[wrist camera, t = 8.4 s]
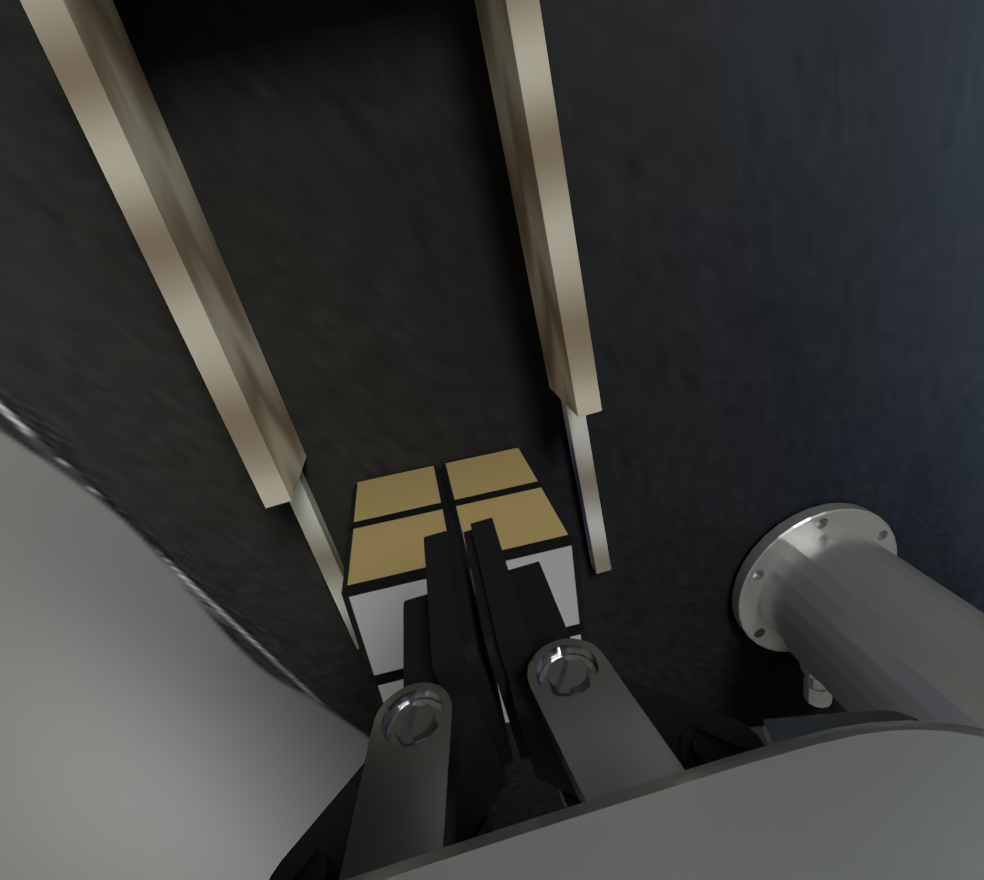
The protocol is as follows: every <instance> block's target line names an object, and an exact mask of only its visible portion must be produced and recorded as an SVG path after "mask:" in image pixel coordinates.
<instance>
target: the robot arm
mask: <svg viewBox="0 0 984 880" xmlns="http://www.w3.org/2000/svg"><path fill="white" fill-rule="evenodd" d="M470 525H471V529H472V530H469V531H465V532H463V534H464V539H465V544H466V549H467V554H468V559H469V564H470V569H471V574H472V579H473V584H474V588H473V585H472V582H471V579H470V576H469V572H468V569H467V566H466V563H465V559H464V556H463V553H462V550H461V546H460V543H459V540H458V537H457V535H456V534H455V535H451V536H448V534H447V531H443V532H440V533H436V534H433V535H429V536H426V537H424V551H425V566H426V581H427V594H426V595H423V596H419V597H416V598H412V599H409V600H406V601H404V606H403V688H402V689H400V690H399V691H397V692H395V693H394V694H393V695H392V696H391V697H389V698H388V699H387V700H386V701H385V702H384V704H383V705H382V706H381V708H380V709H379V711H378V712H377V715H376V717H375V720H374V723H373V727H372V731H371V736H370V740H369V745H368V750H367V754H366V759H365V763H364V764H363V765H362V766H361V767H360V769H359V770H358V771H357V772H356V773H355V775H354V776H353V777H352V778H351V779H350V781H349V782H348V783H347V784H346V785H345V787H344V788H343V789H342V790H341V791H340V792H339V793H338V795H337V796H336V797H335V798H334V799H333V801H332V802H331V803H330V804H329V805H328V806H327V808H326V809H325V810H324V811H323V812H322V814H321V815H320V816H319V817H318V818H317V819H316V821H315V822H314V823H313V824H312V826H311V827H310V828H309V829H308V830H307V831H306V832H305V834H304V835H303V836H302V837H301V838H300V840H299V841H298V842H297V843H296V844H295V846H294V847H293V848H292V849H291V850H290V851H289V852H288V854H287V855H286V856H285V857H284V858H283V860H282V861H281V862H280V864H279V865H278V867H277V868H276V870H275V871H274V872H273V874H272V875H271V877H270V879H269V880H984V613H982V612H981V611H979V610H978V609H976V608H975V607H973V606H972V605H970V604H969V603H967V602H966V601H964V600H963V599H961V598H960V597H958V596H957V595H955V594H954V593H952V592H951V591H949V590H947V589H946V588H944V587H943V586H941V585H940V584H938V583H937V582H935V581H934V580H932V579H931V578H929V577H928V576H926V575H925V574H923V573H922V572H920V571H919V570H917V569H916V568H914V567H913V566H911V565H910V564H908V563H907V562H905V561H904V560H902V559H901V558H899V557H898V556H897V545H896V541H895V537H894V534H893V532H892V531H891V529H890V527H889V525H888V524H887V523H886V522H885V521H884V520H882V519H881V518H880V517H879V516H877V515H876V514H874V513H872V512H871V511H869V510H867V509H866V508H863V507H860V506H857V505H855V504H848V503H831V504H823V505H819V506H816V507H812V508H809V509H806V510H804V511H802V512H800V513H797V514H795V515H793V516H791V517H789V518H788V519H786V520H785V521H783V522H781V523H780V524H778V525H777V526H776V527H774V528H773V529H772V530H771V531H770V532H768V533H767V534H766V535H765V536H764V537H763V538H762V539H761V540H760V541H759V542H758V543H757V544H756V546H755V547H754V548H753V549H752V550H751V552H750V553H749V555H748V556H747V558H746V559H745V561H744V562H743V564H742V566H741V568H740V570H739V572H738V575H737V577H736V580H735V584H734V588H733V595H732V606H733V612H734V616H735V618H736V620H737V622H738V625H739V626H740V627H741V628H742V630H743V631H744V632H745V633H746V634H747V636H748V637H749V638H750V639H752V640H753V641H754V642H755V643H756V644H758V645H760V646H762V647H764V648H766V649H770V650H774V651H779V652H791V653H792V654H793V656H794V657H795V658H796V659H797V660H798V661H799V662H800V668H801V670H802V671H803V673H804V674H805V675H804V677H803V695H804V699H805V700H806V701H807V702H808V703H809V704H811V705H813V706H815V707H819V708H825V707H828V706H829V705H830V704H831V703H832V696H833V697H834V698H835V699H836V700H837V701H838V702H839V703H840V704H841V706H842V707H843V708H844V709H845V710H846V711H847V712H848V713H836V714H824V715H811V716H799V717H786V718H774V719H763V726H760V727H748V726H746V725H745V724H743V723H741V722H739V721H737V720H735V719H733V718H732V717H729V716H726V715H724V714H721V713H718V712H715V711H713V710H710V709H707V708H704V707H702V706H699V705H696V704H693V703H691V702H688V701H685V700H682V699H680V698H677V697H674V696H671V695H669V694H666V693H663V692H660V691H658V690H655V689H652V688H649V687H647V686H644V685H641V684H638V683H636V682H633V681H630V680H628V679H625V678H622V677H619V676H618V674H617V673H616V672H615V670H614V669H613V667H612V666H611V664H610V663H609V662H608V660H607V659H606V657H605V656H604V655H603V653H602V652H601V651H600V650H599V649H598V648H597V647H596V646H595V645H593V644H591V643H589V642H587V641H585V640H580V639H575V638H570V636H569V633H568V631H567V628H566V626H565V623H564V621H563V618H562V616H561V614H560V611H559V609H558V606H557V604H556V601H555V599H554V596H553V594H552V592H551V589H550V587H549V584H548V582H547V579H546V577H545V574H544V572H543V570H542V567H541V565H540V563H539V561H538V562H534V563H531V564H528V565H524V566H521V567H517V568H514V569H511V570H508V567H507V564H506V561H505V558H504V554H503V551H502V548H501V545H500V541H499V538H498V535H497V532H496V529H495V525H494V522H493V519H492V518H488V519H485V520H481V521H478V522H474V523H471V524H470ZM474 589H475V592H474ZM475 594H476V595H475ZM497 684H498V685H497ZM498 687H499V689H498ZM499 690H500V694H501V697H502V700H503V703H504V706H505V709H506V713H507V716H508V719H509V722H510V725H511V728H512V732H513V735H514V738H515V741H516V744H517V747H518V751H519V754H520V757H521V760H522V761H525V760H528V759H531V762H532V765H533V768H534V772H535V775H536V777H537V778H539V779H541V780H543V781H545V782H547V783H548V784H550V785H552V786H554V787H556V788H558V789H559V791H560V795H561V798H562V801H563V804H564V806H565V809H562V810H558V811H555V812H552V813H549V814H546V815H543V816H540V817H537V818H533V819H530V820H527V821H524V822H521V823H518V824H515V825H512V826H509V827H505V828H502V829H499V830H496V831H494V818H493V812H492V809H491V806H492V805H493V803H494V801H495V800H496V798H497V796H498V795H499V793H500V792H501V790H502V788H503V787H505V786H508V785H507V780H506V774H505V769H504V767H506V766H509V765H512V764H513V757H512V752H511V747H510V743H509V738H508V733H507V728H506V723H505V718H504V714H503V709H502V704H501V699H500V694H499Z"/></svg>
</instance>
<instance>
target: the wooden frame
mask: <svg viewBox="0 0 984 880" xmlns="http://www.w3.org/2000/svg"><path fill="white" fill-rule="evenodd" d="M20 1H21V3H22V5H23V7H24V9H25V12H26V14H27V16H28V18H29V20H30V22H31V24H32V26H33V28H34V30H35V32H36V34H37V36H38V38H39V40H40V43H41V45H42V47H43V49H44V51H45V53H46V55H47V57H48V59H49V61H50V63H51V65H52V67H53V69H54V72H55V74H56V76H57V78H58V80H59V82H60V84H61V86H62V88H63V90H64V92H65V94H66V96H67V98H68V100H69V103H70V105H71V107H72V109H73V111H74V113H75V115H76V117H77V119H78V121H79V123H80V125H81V127H82V129H83V131H84V134H85V136H86V138H87V140H88V142H89V144H90V146H91V148H92V150H93V152H94V154H95V156H96V158H97V160H98V162H99V165H100V167H101V169H102V171H103V173H104V175H105V177H106V179H107V181H108V183H109V185H110V187H111V189H112V191H113V194H114V196H115V198H116V200H117V202H118V204H119V206H120V208H121V210H122V212H123V214H124V216H125V218H126V220H127V222H128V225H129V227H130V229H131V231H132V233H133V235H134V237H135V239H136V241H137V243H138V245H139V247H140V249H141V251H142V253H143V256H144V258H145V260H146V262H147V264H148V266H149V268H150V270H151V272H152V274H153V276H154V278H155V280H156V282H157V284H158V287H159V289H160V291H161V293H162V295H163V297H164V299H165V301H166V303H167V305H168V307H169V309H170V311H171V313H172V316H173V318H174V320H175V322H176V324H177V326H178V328H179V330H180V332H181V334H182V336H183V338H184V340H185V342H186V344H187V347H188V349H189V351H190V353H191V355H192V357H193V359H194V361H195V363H196V365H197V367H198V369H199V371H200V373H201V375H202V378H203V380H204V382H205V384H206V386H207V388H208V390H209V392H210V394H211V396H212V398H213V400H214V402H215V404H216V406H217V409H218V411H219V413H220V415H221V417H222V419H223V421H224V423H225V425H226V427H227V429H228V431H229V433H230V435H231V438H232V440H233V442H234V444H235V446H236V448H237V450H238V452H239V454H240V456H241V458H242V460H243V462H244V464H245V466H246V469H247V471H248V473H249V475H250V477H251V479H252V481H253V483H254V485H255V487H256V489H257V491H258V493H259V495H260V497H261V500H262V502H263V504H264V506H265V508H268V507H272V506H275V505H279V504H282V503H286V502H290V504H291V506H292V509H293V511H294V513H295V515H296V517H297V519H298V522H299V524H300V526H301V528H302V530H303V533H304V535H305V537H306V539H307V541H308V543H309V546H310V548H311V550H312V552H313V554H314V557H315V559H316V561H317V563H318V565H319V567H320V570H321V572H322V574H323V576H324V578H325V581H326V583H327V585H328V587H329V589H330V591H331V594H332V596H333V598H334V600H335V602H336V605H337V607H338V609H339V611H340V613H341V615H342V618H343V620H344V622H345V624H346V626H347V629H348V631H349V633H350V635H351V637H352V639H353V642H354V644H355V646H356V648H357V649H359V646H358V643H357V640H356V637H355V634H354V631H353V628H352V625H351V622H350V619H349V616H348V613H347V610H346V607H345V604H344V600H343V597H342V594H341V592H342V584H343V576H344V565H343V563H342V561H341V559H340V556H339V554H338V552H337V549H336V547H335V545H334V542H333V540H332V538H331V535H330V533H329V531H328V529H327V526H326V524H325V522H324V519H323V517H322V515H321V512H320V510H319V508H318V505H317V503H316V501H315V499H314V496H313V494H312V492H311V489H310V487H309V485H308V482H307V480H306V478H305V475H304V473H303V471H302V468H303V465H304V462H305V459H306V454H305V452H304V450H303V447H302V445H301V443H300V440H299V438H298V436H297V433H296V431H295V429H294V426H293V424H292V421H291V419H290V417H289V414H288V412H287V410H286V407H285V405H284V403H283V400H282V398H281V396H280V393H279V391H278V388H277V386H276V384H275V381H274V379H273V377H272V374H271V372H270V370H269V367H268V365H267V363H266V360H265V358H264V356H263V353H262V351H261V348H260V346H259V344H258V341H257V339H256V337H255V334H254V332H253V330H252V327H251V325H250V323H249V320H248V318H247V315H246V313H245V311H244V308H243V306H242V304H241V301H240V299H239V297H238V294H237V292H236V290H235V287H234V285H233V283H232V280H231V278H230V275H229V273H228V271H227V268H226V266H225V264H224V261H223V259H222V257H221V254H220V252H219V250H218V247H217V245H216V242H215V240H214V238H213V235H212V233H211V231H210V228H209V226H208V224H207V221H206V219H205V217H204V214H203V212H202V210H201V207H200V205H199V202H198V200H197V198H196V195H195V193H194V191H193V188H192V186H191V184H190V181H189V179H188V177H187V174H186V172H185V169H184V167H183V165H182V162H181V160H180V158H179V155H178V153H177V151H176V148H175V146H174V144H173V141H172V139H171V136H170V134H169V132H168V129H167V127H166V125H165V122H164V120H163V118H162V115H161V113H160V111H159V108H158V106H157V104H156V101H155V99H154V96H153V94H152V92H151V89H150V87H149V85H148V82H147V80H146V78H145V75H144V73H143V71H142V68H141V66H140V63H139V61H138V59H137V56H136V54H135V52H134V49H133V47H132V45H131V42H130V40H129V38H128V35H127V33H126V31H125V28H124V26H123V23H122V21H121V19H120V16H119V14H118V12H117V9H116V7H115V5H114V2H113V0H20ZM474 2H475V7H476V12H477V17H478V22H479V27H480V32H481V38H482V43H483V48H484V53H485V58H486V63H487V68H488V74H489V79H490V84H491V89H492V94H493V99H494V105H495V110H496V115H497V120H498V125H499V130H500V135H501V141H502V146H503V151H504V156H505V161H506V166H507V171H508V177H509V182H510V187H511V192H512V197H513V202H514V207H515V213H516V218H517V223H518V228H519V233H520V238H521V244H522V249H523V254H524V259H525V264H526V269H527V274H528V280H529V285H530V290H531V295H532V300H533V305H534V310H535V316H536V321H537V326H538V331H539V336H540V341H541V347H542V352H543V357H544V362H545V367H546V372H547V377H548V383H549V387H550V388H551V390H552V391H553V392H554V393H555V394H556V395H557V396H558V397H559V398H560V399H561V405H562V410H563V415H564V421H565V426H566V432H567V437H568V442H569V448H570V453H571V458H572V464H573V469H574V474H575V480H576V485H577V490H578V496H579V501H580V507H581V512H582V517H583V523H584V528H585V533H586V539H587V544H588V549H589V555H590V560H591V565H592V567H593V568H594V570H595V572H596V573H597V574H598V573H601V572H605V571H608V570H611V565H610V559H609V553H608V547H607V541H606V535H605V529H604V523H603V518H602V512H601V506H600V500H599V494H598V488H597V482H596V476H595V470H594V464H593V458H592V452H591V446H590V440H589V434H588V428H587V422H586V416H585V415H589V414H592V413H595V412H599V411H602V408H601V402H600V395H599V388H598V382H597V375H596V369H595V362H594V356H593V349H592V343H591V336H590V330H589V323H588V317H587V310H586V303H585V297H584V290H583V284H582V277H581V271H580V264H579V258H578V251H577V245H576V238H575V231H574V225H573V218H572V212H571V205H570V199H569V192H568V186H567V179H566V173H565V166H564V160H563V153H562V146H561V140H560V133H559V127H558V120H557V114H556V107H555V101H554V94H553V88H552V81H551V74H550V68H549V61H548V55H547V48H546V42H545V35H544V29H543V22H542V16H541V9H540V2H539V0H474Z"/></svg>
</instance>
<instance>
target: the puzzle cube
mask: <svg viewBox="0 0 984 880" xmlns="http://www.w3.org/2000/svg"><path fill="white" fill-rule="evenodd" d="M441 473H442V475H441ZM442 478H443V480H442ZM443 483H444V484H443ZM444 487H445V489H444ZM445 492H446V493H445ZM446 497H447V498H446ZM488 518H492V519H493V522H494V525H495V529H496V532H497V535H498V538H499V541H500V545H501V548H502V551H503V554H504V558H505V561H506V564H507V567H508V570H511V569H514V568H517V567H521V566H524V565H528V564H531V563H534V562H538V561H539V563H540V565H541V567H542V570H543V572H544V574H545V577H546V579H547V582H548V584H549V587H550V589H551V592H552V594H553V596H554V599H555V601H556V604H557V606H558V609H559V611H560V614H561V616H562V618H563V621H564V623H565V626H566V628H567V631H568V633H569V636H570V638H575V639H580V640H585V641H586V633H585V627H584V625H583V623H582V620H583V618H584V613H583V602H582V592H581V581H580V571H579V561H578V550H577V540H576V538H575V536H574V534H573V533H572V531H571V529H570V527H569V526H568V524H567V522H566V521H565V519H564V517H563V516H562V514H561V512H560V511H559V509H558V507H557V505H556V504H555V502H554V500H553V499H552V497H551V495H550V494H549V492H548V491H547V490H545V485H544V483H543V481H542V480H541V478H540V476H539V475H538V473H537V472H536V470H535V468H534V467H533V465H532V463H531V462H530V460H529V458H528V457H527V455H526V453H525V452H524V451H523V450H521V449H520V448H514V449H509V450H505V451H500V452H495V453H491V454H486V455H482V456H477V457H472V458H468V459H463V460H459V461H454V462H449V463H445V464H444V466H443V467H442V468H441V471H440V469H439V468H437V467H435V466H430V467H425V468H421V469H416V470H412V471H407V472H402V473H398V474H393V475H388V476H384V477H379V478H375V479H370V480H365V481H361V482H358V483H357V484H356V485H355V487H354V489H353V498H352V507H351V516H350V525H349V531H350V535H349V536H348V544H347V552H346V560H345V568H344V576H343V584H342V592H341V594H342V597H343V600H344V604H345V607H346V610H347V613H348V616H349V619H350V622H351V625H352V628H353V631H354V634H355V637H356V640H357V643H358V646H359V649H360V652H361V655H362V658H363V661H364V664H365V667H366V670H367V672H368V673H370V674H371V681H370V682H371V685H372V688H373V691H374V694H375V697H376V700H377V703H378V706H379V709H380V708H381V706H382V705H383V704H384V702H385V701H386V700H387V699H388V698H389V697H391V696H392V695H393V694H394V693H395V692H397V691H399V690H400V689H402V688H403V606H404V601H406V600H409V599H412V598H416V597H419V596H423V595H426V594H427V581H426V566H425V551H424V537H426V536H429V535H433V534H436V533H440V532H443V531H447V534H448V536H451V535H455V534H456V535H457V537H458V540H459V543H460V546H461V550H462V553H463V556H464V559H465V563H466V566H467V569H468V572H469V576H470V579H471V582H472V585H473V588H474V584H473V579H472V574H471V569H470V564H469V559H468V554H467V549H466V544H465V539H464V534H463V532H465V531H469V530H472V529H471V525H470V524H471V523H474V522H478V521H481V520H485V519H488ZM474 592H475V589H474ZM475 595H476V594H475ZM497 685H498V684H497ZM498 689H499V687H498ZM499 694H500V690H499ZM500 699H501V704H502V709H503V714H504V718H505V723H508V722H509V719H508V716H507V713H506V709H505V706H504V703H503V700H502V697H501V694H500Z"/></svg>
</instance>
